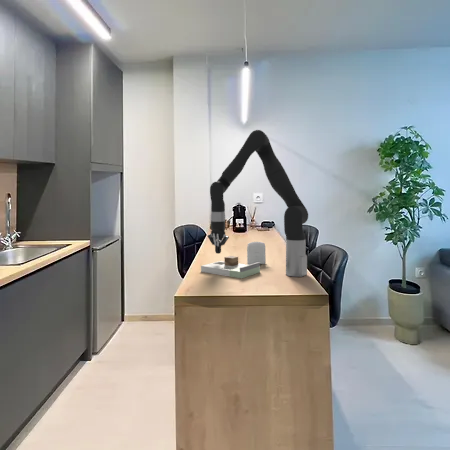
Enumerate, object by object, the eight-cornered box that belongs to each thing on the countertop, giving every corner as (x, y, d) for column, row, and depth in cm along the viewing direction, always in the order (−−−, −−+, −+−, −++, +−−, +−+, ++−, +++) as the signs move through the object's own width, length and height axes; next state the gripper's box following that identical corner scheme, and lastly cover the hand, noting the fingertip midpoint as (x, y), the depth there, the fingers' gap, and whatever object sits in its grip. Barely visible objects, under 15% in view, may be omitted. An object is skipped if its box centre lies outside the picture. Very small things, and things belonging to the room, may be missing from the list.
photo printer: (247, 264, 207) (247, 242, 206) (246, 263, 211) (246, 241, 210) (266, 264, 208) (266, 242, 207) (264, 262, 212) (264, 241, 211)
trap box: (259, 272, 188) (259, 262, 188) (241, 278, 176) (241, 267, 175) (220, 266, 203) (220, 257, 203) (201, 271, 191) (200, 261, 190)
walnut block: (238, 264, 193) (238, 256, 193) (232, 266, 189) (232, 258, 189) (230, 263, 196) (230, 255, 196) (224, 265, 192) (224, 257, 192)
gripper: (232, 220, 195) (232, 253, 196) (212, 219, 203) (212, 251, 204) (223, 221, 189) (223, 255, 190) (203, 220, 197) (203, 252, 199)
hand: (218, 253), depth 197 cm, fingers closed
